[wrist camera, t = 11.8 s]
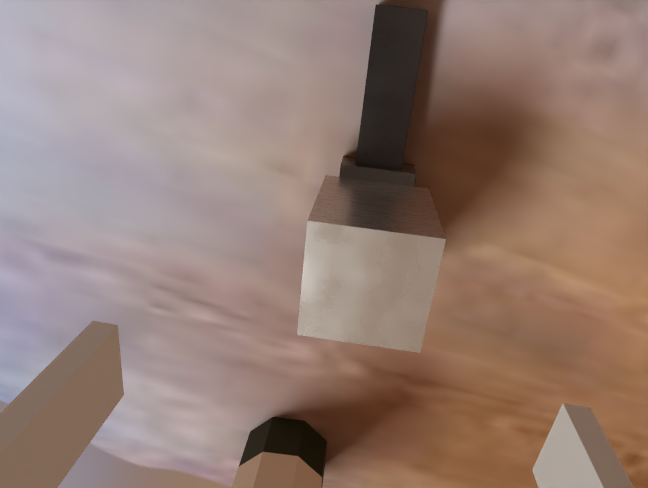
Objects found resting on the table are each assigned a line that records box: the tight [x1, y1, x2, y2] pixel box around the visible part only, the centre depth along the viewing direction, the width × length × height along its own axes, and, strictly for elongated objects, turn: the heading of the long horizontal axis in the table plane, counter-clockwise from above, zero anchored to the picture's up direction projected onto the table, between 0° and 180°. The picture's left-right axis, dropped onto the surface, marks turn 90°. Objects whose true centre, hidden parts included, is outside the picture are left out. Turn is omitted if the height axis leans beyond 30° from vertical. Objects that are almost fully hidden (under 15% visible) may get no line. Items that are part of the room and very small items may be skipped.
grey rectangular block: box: [297, 175, 446, 353], centre depth 29 cm, size 7×7×9 cm
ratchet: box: [340, 5, 428, 186], centre depth 31 cm, size 19×5×6 cm, turn 175°
